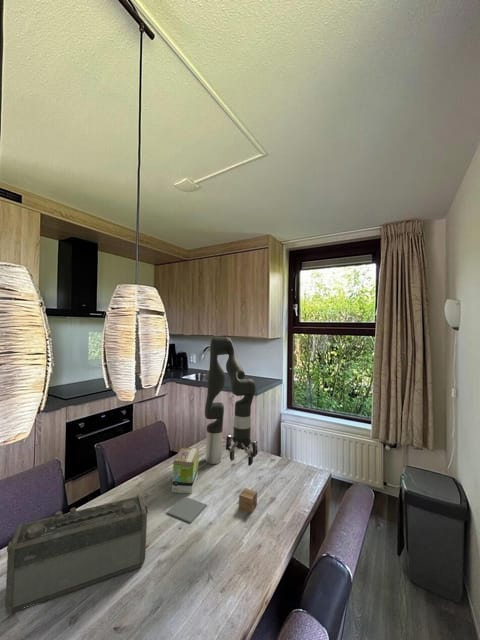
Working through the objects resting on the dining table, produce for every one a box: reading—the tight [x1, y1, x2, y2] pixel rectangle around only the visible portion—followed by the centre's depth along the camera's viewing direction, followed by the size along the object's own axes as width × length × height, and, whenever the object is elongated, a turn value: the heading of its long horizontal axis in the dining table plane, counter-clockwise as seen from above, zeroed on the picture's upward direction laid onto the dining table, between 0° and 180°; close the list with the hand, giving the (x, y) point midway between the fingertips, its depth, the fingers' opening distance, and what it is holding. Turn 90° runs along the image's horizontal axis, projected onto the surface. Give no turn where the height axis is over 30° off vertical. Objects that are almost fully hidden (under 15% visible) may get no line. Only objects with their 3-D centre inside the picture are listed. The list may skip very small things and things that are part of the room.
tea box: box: [171, 447, 200, 494], centre depth 137 cm, size 15×10×15 cm, turn 179°
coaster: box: [166, 496, 208, 524], centre depth 119 cm, size 12×12×1 cm
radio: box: [4, 494, 149, 613], centre depth 88 cm, size 38×14×20 cm, turn 118°
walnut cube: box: [238, 487, 258, 514], centre depth 122 cm, size 6×6×6 cm
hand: (240, 462), depth 122 cm, fingers open, 8 cm apart
